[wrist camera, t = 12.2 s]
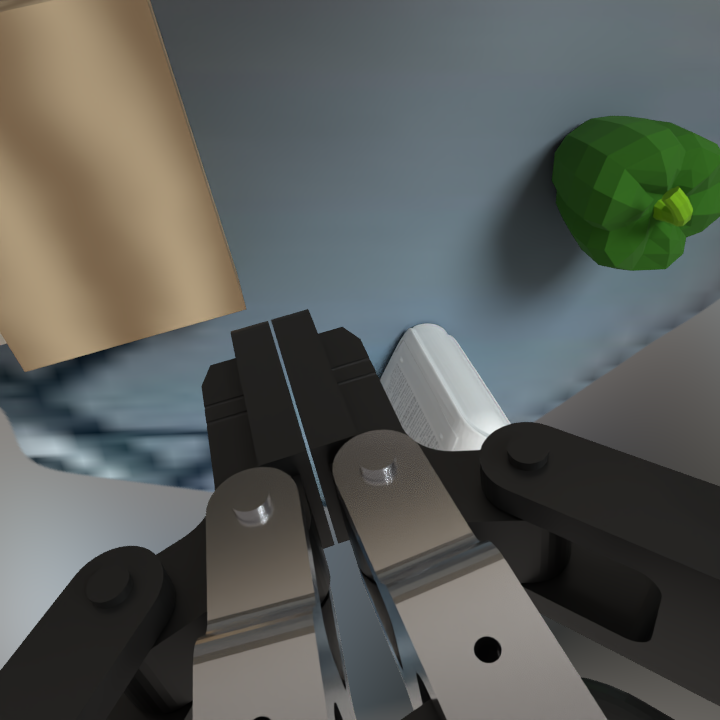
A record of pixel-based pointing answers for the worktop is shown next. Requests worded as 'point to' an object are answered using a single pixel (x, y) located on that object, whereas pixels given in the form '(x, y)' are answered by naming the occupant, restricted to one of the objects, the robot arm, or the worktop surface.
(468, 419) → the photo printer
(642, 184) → the bell pepper
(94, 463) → the worktop surface
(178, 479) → the worktop surface
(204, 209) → the oak deck
